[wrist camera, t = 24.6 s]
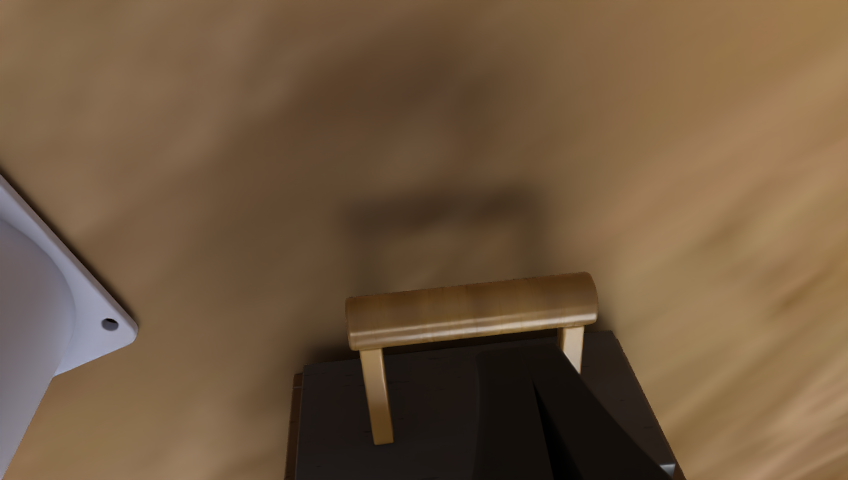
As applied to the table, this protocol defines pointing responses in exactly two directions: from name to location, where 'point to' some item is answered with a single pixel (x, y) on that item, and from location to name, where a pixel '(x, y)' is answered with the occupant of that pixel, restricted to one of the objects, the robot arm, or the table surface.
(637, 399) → the drawer
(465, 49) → the table surface
